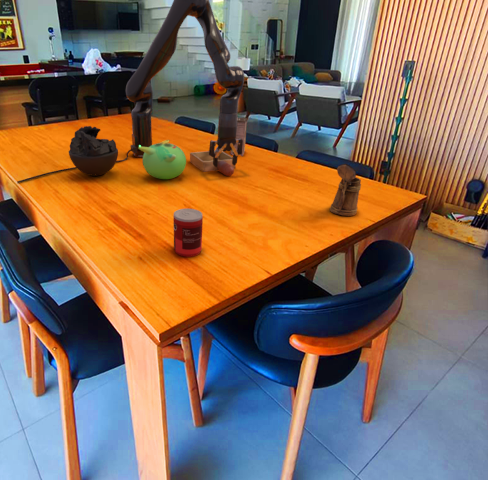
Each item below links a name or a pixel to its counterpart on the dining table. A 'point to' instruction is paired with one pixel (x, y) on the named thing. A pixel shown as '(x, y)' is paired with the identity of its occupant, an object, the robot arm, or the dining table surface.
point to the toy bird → (163, 160)
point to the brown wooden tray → (208, 160)
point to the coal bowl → (92, 152)
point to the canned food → (188, 232)
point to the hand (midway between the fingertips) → (224, 165)
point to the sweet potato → (225, 168)
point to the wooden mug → (346, 192)
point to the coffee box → (241, 133)
